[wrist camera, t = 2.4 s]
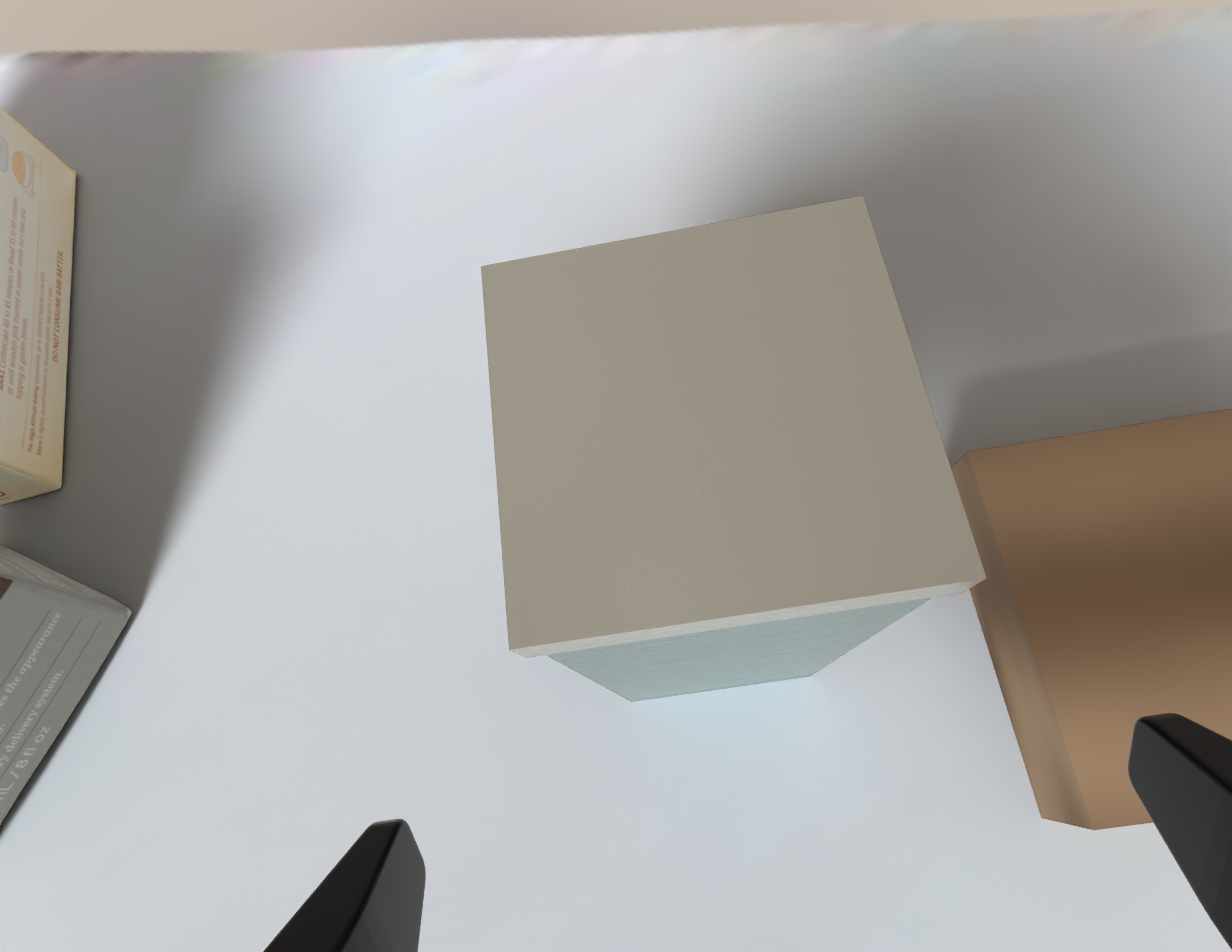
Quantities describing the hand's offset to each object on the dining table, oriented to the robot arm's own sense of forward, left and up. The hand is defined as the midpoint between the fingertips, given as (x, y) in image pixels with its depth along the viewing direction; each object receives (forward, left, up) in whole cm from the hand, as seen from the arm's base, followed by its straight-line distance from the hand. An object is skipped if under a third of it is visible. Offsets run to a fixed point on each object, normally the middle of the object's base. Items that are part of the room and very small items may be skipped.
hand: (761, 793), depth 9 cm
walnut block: (+5, -11, -11) cm, 17 cm away
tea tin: (+4, +1, -11) cm, 12 cm away
